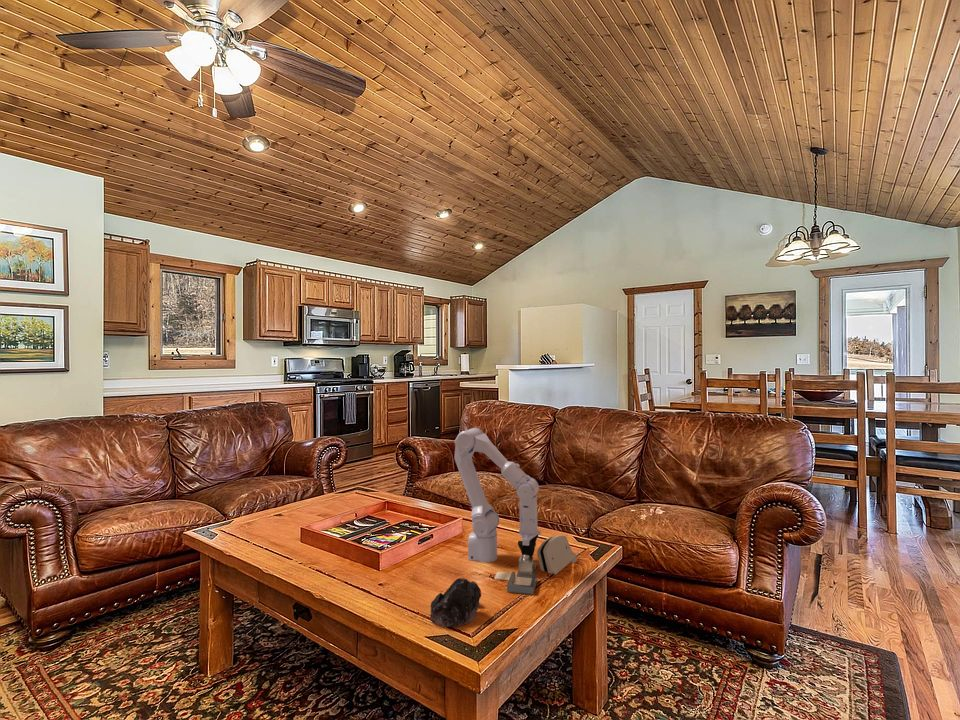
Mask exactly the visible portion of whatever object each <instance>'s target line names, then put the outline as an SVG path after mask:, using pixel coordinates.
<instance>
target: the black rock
mask: <svg viewBox="0 0 960 720" xmlns="http://www.w3.org/2000/svg"><path fill="white" fill-rule="evenodd" d="M481 598H482V589H481V588H480V586H479V585H478V584H477V582H476V581H469V580H468V579H466V578H465V577H462V578H461V577H458V578H456V579H455V580H454V581H453V582H452V583H451V584H450V586H449V587H448V588H447V589H446V590H445V592H444V593H442V592H440V593H438V594H437V595H436V596H435V597H434V599H433V600H432V601H431V603H430V615H429V619H430V620H431V621H433V622H434V623H436V625H438V626H442V627H444V628H448V627H451V628H454V627H458V626H459V627H460V626H463V625H466V624H468V623H472V622H474V620H475V619H476V616H477V612H478V610H479V607H480V599H481Z"/></svg>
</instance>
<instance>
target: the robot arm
mask: <svg viewBox="0 0 960 720" xmlns="http://www.w3.org/2000/svg"><path fill="white" fill-rule="evenodd" d="M454 445H455V448H454V458H453V459H454V461H455V464H456V466H457V469H458V472H459V475H460V478H461V480H462V483H463V484H462V485H463V486H464V489H465V491H466V496H467V497H468V498H467V499H468V500H469V503H470V505H471V508H472V509H471V514H470V518H471V521H472V525H471V526H472V527H471V528H472V532H470V533H469V536H468V540H467V541H468V542H467V548H468V550H467V555H468V556H467V560H468V561H474V562H480V563H493V562H495V561H496V560H497V559H498V531H497V527H498V526H499V525H500V517H499V514H498V513H497V512H496V511H495V510H494V508H493V505H492V504H490V503H489V502H488V500H487V497H486V495H485V493H484V490H483V486H482V484H481V482H480V479H479V476H478V472H477V470H476V468H475V465H474V462H473V456H474V453H475V452H477V453H484V455H485V456H486V457H487V458H489V459H490V460H491V461H492V462H493V464H495V465H496V466H497V467H498V468H500V472H501V475H502V477H503V478H505V480H506V481H507V482H508V483H509V484H510V486H512V487H513V489H516V494H517V497H518V498H519V503H518V505H519V509H518V510H519V512H518V513H519V530H518V534H519V536H520V538H521V539H522V540H518V542H517V545H518V547H519V550H520V553H521V556H523V554H529V556H531V557H534V553H535V549H536V546H537V542H536V541H537V539H538V537H539V536H541V534H542V530H538V499H537V498H538V495H537V494H538V493H539V490H540V486H539V483H538V481H537V480H536V479H535V478H534V477H531V476H530V475H528V474H527V473H525V472H524V470H523V469H522V468H520V467H521V465H520V464H519V463H517V462H514V461H508V459H507V458H506V457H505V456H504V455H503V454H502V453H501V452H500V451H499V449H498V448H497V447H496V445H494V444H493V442H492V441H491V440H490V438H489V437H488V435H487V434H486V433H484V432H483V431H482V429H480V428H478V427H471V428H470V429H467V430H464V431H460V432H459V433H458V435H457V436H456V438H455V439H454Z"/></svg>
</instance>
